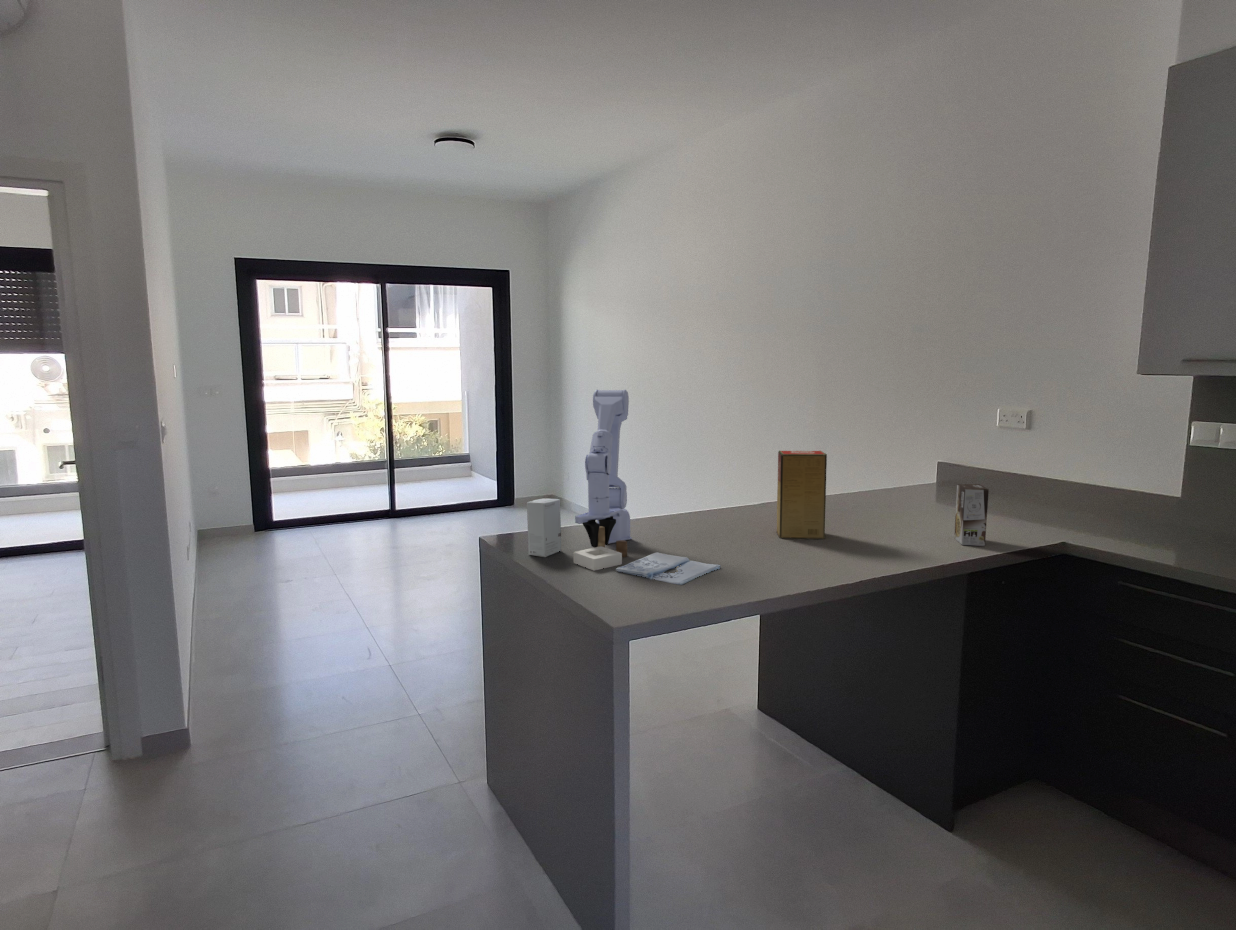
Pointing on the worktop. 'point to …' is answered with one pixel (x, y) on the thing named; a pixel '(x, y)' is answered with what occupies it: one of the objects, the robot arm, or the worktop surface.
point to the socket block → (597, 558)
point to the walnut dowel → (622, 547)
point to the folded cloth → (667, 568)
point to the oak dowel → (601, 536)
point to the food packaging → (801, 494)
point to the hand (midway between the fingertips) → (599, 545)
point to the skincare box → (544, 527)
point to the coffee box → (971, 514)
